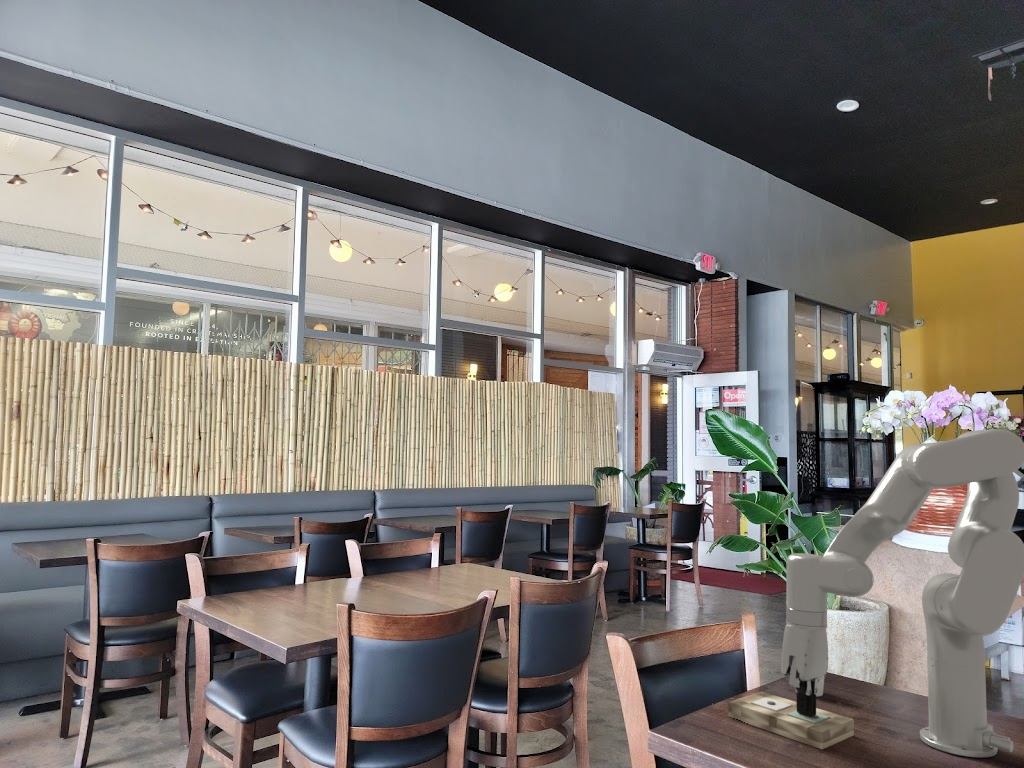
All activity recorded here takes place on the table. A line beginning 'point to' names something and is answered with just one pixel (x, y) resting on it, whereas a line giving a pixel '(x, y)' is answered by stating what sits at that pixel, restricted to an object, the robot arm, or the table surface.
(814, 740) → the tile board
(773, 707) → the one dot tile
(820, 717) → the two dot tile
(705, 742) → the table surface
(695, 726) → the table surface
